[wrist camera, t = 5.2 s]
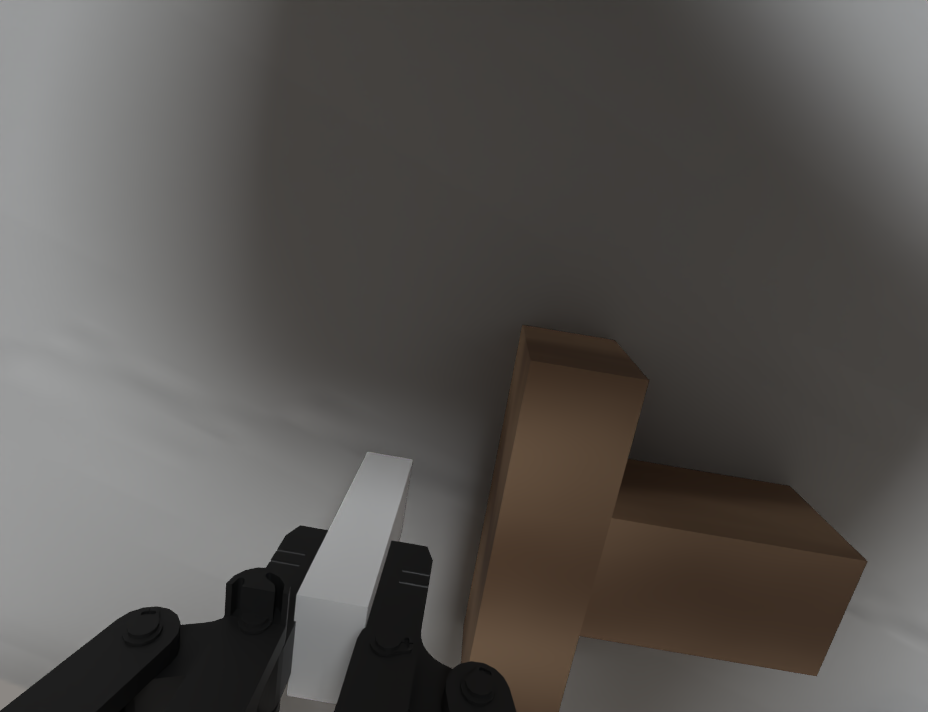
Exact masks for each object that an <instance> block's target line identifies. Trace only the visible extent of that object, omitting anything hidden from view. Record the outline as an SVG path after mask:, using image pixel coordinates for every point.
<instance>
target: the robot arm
mask: <svg viewBox="0 0 928 712" xmlns="http://www.w3.org/2000/svg"><path fill="white" fill-rule="evenodd" d="M412 463H413V459H407V458H402V457H396V456H390V455H385V454H379V453H373V452H368V451H367V453H366V455H365V457H364V459H363V461H362V463H361V465H360V467H359V469H358V472H357V474H356V476H355V478H354V480H353V482H352V484H351V486H350V488H349V490H348V492H347V494H346V496H345V498H344V500H343V502H342V504H341V506H340V508H339V510H338V512H337V514H336V516H335V518H334V520H333V522H332V524H331V526H330V528H329V530H323V529H317V528H312V527H306V526H299V527H297V528H296V529H294V530H293V531H292V532H290V533H289V534H287V535H286V536H285V538H284V539H283V541H282V542H281V544H280V546H279V547H278V550H277V551H276V552H275V554H274V555H273V557H272V559H271V562H269V564H268V565H267V567H266V568H254V569H249V570H245V571H243V572H241V573H239V574H237V575H235V576H233V577H232V578H231V579H230V580H229V581H228V582H227V583H226V600H225V616H224V617H223V618H222V619H219V620H216V621H212V622H207V623H198V624H186V625H180V620H179V618H178V615H177V614H175V613H174V612H173V611H171V610H170V609H167V608H162V607H146V608H141V609H138V610H135V611H132V612H129V613H127V614H126V615H124V616H122V617H121V618H119V619H117V620H116V621H115V622H113V623H112V624H111V625H109V626H108V627H107V628H106V629H104V630H103V631H102V632H101V633H99V634H98V635H97V636H95V637H94V638H93V639H92V640H90V641H89V642H88V643H86V644H85V645H84V646H83V647H81V648H80V649H79V650H77V651H76V652H75V653H74V654H72V655H71V656H70V657H69V658H67V659H66V660H65V661H63V662H62V663H61V664H60V665H58V666H57V667H56V668H54V669H53V670H52V671H51V672H49V673H48V674H47V675H45V676H44V677H43V678H42V679H40V680H39V681H38V682H36V683H35V684H34V685H33V686H31V687H30V688H29V689H28V690H26V691H25V692H24V693H22V694H21V695H20V696H19V697H17V698H16V699H15V700H13V701H12V702H11V703H10V704H8V705H7V706H6V707H4V708H3V709H2V710H1V711H0V712H279V709H280V698H281V696H282V694H283V691H284V689H285V686H286V684H287V682H288V689H287V696H292V697H298V698H303V699H309V700H314V701H320V702H326V703H331V704H336V707H335V711H334V712H516V708H515V705H514V701H513V698H512V695H511V691H510V688H509V686H508V684H507V682H506V680H505V678H504V677H503V676H502V675H501V674H500V673H499V672H498V671H497V670H496V669H495V668H493V667H491V666H489V665H487V664H485V663H481V662H474V661H470V662H465V663H461V664H459V665H458V666H456V667H455V668H453V669H451V668H449V667H447V666H445V665H443V664H441V663H440V662H438V661H437V660H435V659H434V658H433V657H432V656H431V655H430V654H429V653H428V652H427V651H426V649H425V647H424V646H423V643H422V639H421V628H422V622H423V616H424V610H425V604H426V598H427V592H428V586H429V580H430V574H431V568H432V562H433V560H432V557H431V555H430V552H429V550H428V547H426V546H420V545H415V544H409V543H404V542H399V540H400V536H401V532H402V527H403V520H404V514H405V508H406V501H407V495H408V488H409V482H410V476H411V469H412Z"/></svg>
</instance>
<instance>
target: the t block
mask: <svg viewBox="0 0 928 712" xmlns="http://www.w3.org/2000/svg"><path fill="white" fill-rule="evenodd" d="M648 383H649V379H648V378H647V377H646V376H645V375H644V374H643V373H642V371H641V370H640V369H639V368H638V367H637V366H636V364H635V363H634V362H633V361H632V360H631V359H630V357H629V356H628V355H627V354H626V353H625V352H624V350H623V349H622V348H621V347H620V346H619V345H618V343H617V342H616V341H615V340H611V339H605V338H599V337H593V336H587V335H581V334H575V333H569V332H563V331H557V330H551V329H545V328H539V327H533V326H527V325H522V329H521V334H520V339H519V344H518V349H517V355H516V360H515V365H514V370H513V375H512V380H511V385H510V390H509V396H508V401H507V406H506V411H505V416H504V421H503V426H502V431H501V437H500V442H499V447H498V452H497V457H496V462H495V467H494V472H493V478H492V483H491V488H490V493H489V498H488V503H487V508H486V513H485V519H484V524H483V529H482V534H481V539H480V544H479V549H478V554H477V559H476V565H475V570H474V575H473V580H472V585H471V590H470V595H469V600H468V606H467V611H466V616H465V621H464V627H463V642H462V656H461V663H465V662H470V661H474V662H481V663H485V664H487V665H489V666H491V667H493V668H495V669H496V670H497V671H498V672H499V673H500V674H501V675H502V676H503V677H504V678H505V680H506V682H507V684H508V686H509V688H510V691H511V695H512V698H513V701H514V705H515V708H516V712H559V709H560V705H561V701H562V698H563V694H564V690H565V687H566V683H567V679H568V676H569V672H570V668H571V665H572V661H573V657H574V654H575V650H576V646H577V643H578V639H579V636H583V637H588V638H594V639H600V640H606V641H612V642H618V643H624V644H630V645H636V646H642V647H647V648H653V649H659V650H665V651H671V652H677V653H683V654H689V655H695V656H700V657H706V658H712V659H718V660H724V661H730V662H736V663H742V664H748V665H754V666H759V667H765V668H771V669H777V670H783V671H789V672H795V673H801V674H807V675H812V676H817V674H818V672H819V670H820V667H821V665H822V663H823V661H824V658H825V656H826V654H827V651H828V649H829V647H830V645H831V642H832V640H833V638H834V636H835V633H836V631H837V629H838V627H839V624H840V622H841V620H842V618H843V615H844V613H845V611H846V609H847V606H848V604H849V602H850V600H851V597H852V595H853V593H854V591H855V588H856V586H857V584H858V581H859V579H860V577H861V575H862V572H863V570H864V568H865V566H866V563H867V560H866V559H865V558H864V557H862V556H861V555H860V554H859V553H858V552H857V551H856V550H855V549H854V548H853V547H852V546H851V545H850V544H849V543H848V542H847V541H846V540H845V539H844V538H843V537H842V536H841V535H840V534H839V533H838V532H837V531H836V530H835V529H834V528H833V527H832V526H830V525H829V524H828V523H827V522H826V521H825V520H824V519H823V518H822V517H821V516H820V515H819V514H818V513H817V512H816V511H815V510H814V509H813V508H812V507H811V506H810V505H809V504H808V503H807V502H806V501H805V500H804V499H803V498H802V497H801V496H800V495H798V494H797V493H796V492H795V491H794V490H793V489H792V488H791V487H790V486H787V485H781V484H775V483H769V482H763V481H757V480H751V479H745V478H739V477H733V476H727V475H721V474H716V473H710V472H704V471H698V470H692V469H686V468H680V467H674V466H668V465H662V464H656V463H650V462H644V461H638V460H632V459H628V456H629V453H630V449H631V445H632V442H633V438H634V434H635V431H636V427H637V423H638V420H639V416H640V412H641V409H642V405H643V401H644V398H645V394H646V391H647V387H648Z"/></svg>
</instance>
